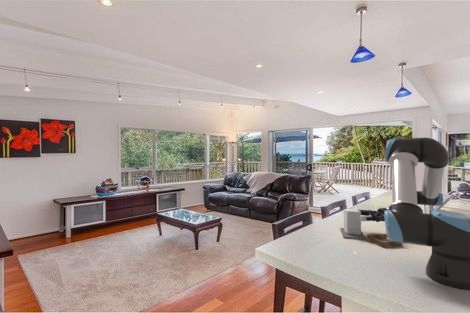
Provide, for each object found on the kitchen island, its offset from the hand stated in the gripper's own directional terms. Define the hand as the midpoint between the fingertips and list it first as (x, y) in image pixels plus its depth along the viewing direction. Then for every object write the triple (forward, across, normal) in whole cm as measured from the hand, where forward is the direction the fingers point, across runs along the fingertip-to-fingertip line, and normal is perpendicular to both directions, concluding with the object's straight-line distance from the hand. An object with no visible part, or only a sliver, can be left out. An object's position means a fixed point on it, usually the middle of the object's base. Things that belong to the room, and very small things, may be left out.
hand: (352, 215), depth 144 cm
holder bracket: (-7, -16, -10) cm, 20 cm away
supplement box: (0, 0, -10) cm, 10 cm away
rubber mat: (0, 0, -10) cm, 10 cm away
